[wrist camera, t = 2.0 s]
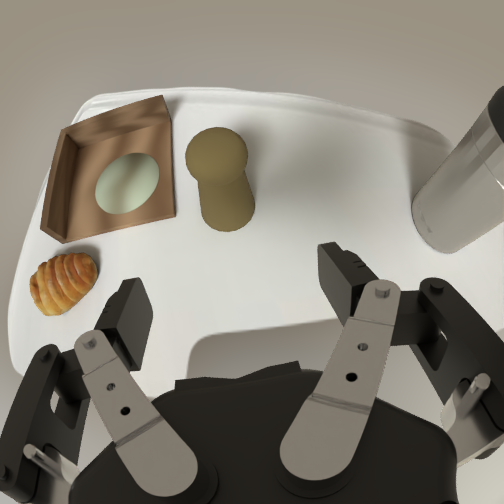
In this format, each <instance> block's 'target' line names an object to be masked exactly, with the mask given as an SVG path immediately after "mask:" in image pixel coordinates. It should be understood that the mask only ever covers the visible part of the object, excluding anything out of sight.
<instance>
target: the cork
mask: <svg viewBox="0 0 504 504" xmlns="http://www.w3.org/2000/svg"><path fill="white" fill-rule="evenodd" d="M185 158H186V166H187V168H188V170H189V172H190V174H191V175H192V176H193V177H194V178H195V179H196V180H197V181H198V189H199V197H200V205H201V213H202V217H203V219H204V221H205V223H207V224H208V225H209V226H210V227H211V228H213V229H215V230H218V231H223V232H230V231H235V230H238V229H240V228H242V227H244V226H245V225H246V224H247V223H248V222H249V221H250V220H251V218H252V216H253V214H254V210H255V203H254V199H253V195H252V192H251V189H250V186H249V183H248V180H247V177H246V174H245V171H244V169H245V167H246V164H247V159H248V151H247V147H246V144H245V142H244V141H243V139H242V138H241V137H240V135H238V134H237V133H235V132H234V131H232V130H230V129H227V128H223V127H214V128H209V129H206V130H204V131H201V132H200V133H198V134H197V135H196V136H194V137H193V139H192V140H191V141H190V143H189V144H188V146H187V150H186V153H185Z"/></svg>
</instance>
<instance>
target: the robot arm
mask: <svg viewBox="0 0 504 504" xmlns="http://www.w3.org/2000/svg"><path fill="white" fill-rule="evenodd" d="M412 214H413V219H414V223H415V225H416V228H417V230H418V232H419V233H420V235H421V236H422V238H423V239H424V240H425V241H426V243H427V244H428V245H430V246H431V247H432V248H433V249H435V250H437V251H439V252H442V253H454V252H457V251H458V250H460V249H461V248H463V247H465V246H466V245H468V244H470V243H471V242H473V241H475V240H476V239H478V238H479V237H481V236H482V235H484V234H485V233H487V232H489V231H490V230H492V229H493V228H494V227H496V226H497V225H499V224H500V223H502V222H503V221H504V86H502V87H501V88H499V89H498V90H497V91H496V93H495V94H494V96H493V97H492V99H491V100H490V101H489V103H488V105H487V106H486V108H485V109H484V110H483V112H482V113H481V115H480V116H479V117H478V119H477V120H476V122H475V123H474V124H473V126H472V127H471V129H470V130H469V131H468V132H467V134H466V135H465V136H464V137H463V139H462V140H461V141H460V143H459V144H458V145H457V146H456V148H455V149H454V150H453V151H452V153H451V154H450V155H449V156H448V158H447V159H446V160H445V161H444V162H443V164H442V165H441V166H440V167H439V168H438V170H437V171H436V172H435V173H434V174H433V176H432V177H431V178H430V179H429V180H428V181H427V183H426V184H425V185H424V186H423V187H422V188H421V189H420V191H419V192H418V193H417V194H416V196H415V197H414V200H413V203H412ZM317 251H318V275H319V282H320V285H321V288H322V290H323V292H324V293H325V295H326V297H327V299H328V300H329V302H330V304H331V306H332V307H333V309H334V311H335V313H336V314H337V316H338V318H339V320H340V322H341V323H342V325H343V327H344V329H343V331H342V334H341V336H340V338H339V340H338V342H337V345H336V347H335V349H334V351H333V353H332V356H331V358H330V360H329V362H328V364H327V366H326V368H325V370H324V372H323V371H318V370H311V369H301V368H300V365H299V362H298V361H294V362H289V363H285V364H280V365H275V366H270V367H266V368H264V369H261V370H259V371H256V372H253V373H251V374H248V375H246V376H243V377H240V378H237V379H227V378H211V377H201V378H192V379H182V380H175V389H174V390H171V391H168V392H166V393H164V394H162V395H160V396H159V397H157V398H155V399H154V400H153V401H152V402H150V401H149V399H148V398H147V397H146V395H145V394H144V393H143V391H142V390H141V389H140V387H139V386H138V385H137V383H136V382H135V380H134V379H133V378H132V376H131V375H130V371H140V370H141V365H142V361H143V356H144V352H145V348H146V344H147V339H148V335H149V331H150V327H151V324H152V320H153V310H152V306H151V303H150V301H149V298H148V296H147V293H146V291H145V288H144V285H143V283H142V281H141V279H140V278H139V277H137V278H132V279H126V280H123V282H122V284H121V286H120V288H119V290H118V292H115V293H114V294H113V295H112V296H111V297H110V298H109V299H108V301H107V303H106V305H105V308H104V309H103V311H102V313H101V315H100V317H99V319H98V321H97V323H96V325H95V328H94V330H91V331H88V332H86V333H84V334H82V335H81V336H80V337H79V338H78V339H77V340H76V342H75V345H74V349H71V350H68V351H65V352H62V353H61V352H60V350H59V349H58V347H57V346H56V345H54V344H49V345H46V346H43V347H42V348H40V349H39V350H38V351H37V352H36V353H35V355H34V357H33V359H32V361H31V363H30V365H29V367H28V369H27V371H26V373H25V376H24V378H23V380H22V382H21V385H20V387H19V389H18V392H17V394H16V397H15V399H14V401H13V404H12V406H11V409H10V412H9V415H8V417H7V420H6V422H5V425H4V428H3V431H2V434H1V438H0V491H2V492H3V493H4V494H6V495H8V496H10V497H11V498H13V499H14V500H15V501H16V502H18V503H19V504H459V502H458V498H457V492H456V470H457V468H458V467H460V466H462V465H464V464H465V463H467V462H469V461H470V460H472V459H474V458H475V459H484V458H487V457H489V456H490V455H491V454H492V453H493V452H494V451H495V450H497V449H498V448H499V447H500V446H501V445H502V444H503V443H504V342H503V341H502V340H501V339H500V337H499V336H498V335H497V334H496V333H495V332H494V330H493V329H492V328H491V327H490V326H489V325H488V324H487V322H486V321H485V320H484V319H483V318H482V317H481V316H480V315H479V314H478V313H477V311H476V310H475V309H474V308H473V307H472V306H471V305H470V304H469V303H468V302H467V301H466V300H465V299H464V298H463V297H462V296H461V295H460V294H459V293H458V292H457V291H456V290H455V288H454V287H453V286H452V285H450V284H449V283H448V282H447V281H445V280H443V279H440V278H426V279H424V280H423V281H422V282H421V283H420V287H419V290H416V291H401V290H400V288H399V286H398V285H397V284H395V283H394V282H391V281H388V280H380V279H379V278H378V277H377V276H376V275H375V274H374V273H373V272H372V271H371V270H370V268H369V267H368V266H366V264H365V263H364V262H363V261H362V260H361V259H360V258H359V257H358V255H357V254H355V253H353V252H351V251H348V250H345V251H343V250H342V249H341V248H340V247H339V246H338V245H337V243H336V242H330V243H324V244H319V245H318V249H317ZM441 331H442V332H443V333H444V334H445V336H446V338H447V340H446V339H445V337H444V336H443V335H442V334H441ZM397 345H409V346H410V348H411V349H412V351H413V353H414V354H415V356H416V357H417V359H418V361H419V362H420V364H421V366H422V367H423V369H424V371H425V373H426V374H427V376H428V378H429V380H430V381H431V383H432V385H433V387H434V388H435V390H436V392H437V394H438V396H439V397H440V399H441V401H442V403H443V405H444V407H443V409H442V412H441V422H442V425H443V429H442V428H440V427H439V426H437V425H435V424H433V423H431V422H429V421H426V420H424V419H422V418H420V417H417V416H415V415H413V414H411V413H409V412H407V411H404V410H402V409H400V408H398V407H396V406H394V405H392V404H390V403H388V402H385V401H383V400H381V399H379V398H377V397H376V395H377V392H378V388H379V385H380V382H381V378H382V375H383V371H384V368H385V364H386V360H387V356H388V352H389V348H390V346H397ZM53 391H55V392H56V393H57V394H58V396H59V400H58V404H57V407H56V410H55V413H53V411H52V409H51V406H50V400H51V397H52V394H53ZM90 398H92V401H93V403H94V405H95V407H96V409H97V411H98V413H99V415H100V417H101V419H102V421H103V423H104V424H105V426H106V428H107V430H108V432H109V434H110V435H111V437H112V439H113V441H112V442H111V443H110V444H109V445H108V446H107V447H106V448H105V449H104V450H103V451H102V452H101V453H100V454H99V455H98V456H97V457H96V458H95V459H94V460H93V461H92V462H91V463H90V464H89V465H88V466H87V467H86V468H85V469H84V470H83V471H82V472H81V473H80V472H79V469H78V468H77V463H78V457H79V451H80V446H81V440H82V434H83V430H84V425H85V420H86V416H87V411H88V407H89V402H90Z"/></svg>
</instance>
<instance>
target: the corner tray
mask: <svg viewBox="0 0 504 504" xmlns="http://www.w3.org/2000/svg"><path fill="white" fill-rule="evenodd" d="M173 217H175V205H174V189H173V169H172V140H171V118H170V115H169V112H168V109H167V106H166V103H165V101H164V98H163V95H159V96H155V97H152V98H148V99H144V100H141V101H138V102H134V103H131V104H128V105H125V106H122V107H119V108H116V109H113V110H110V111H107V112H104V113H101V114H99V115H96V116H93V117H91V118H88V119H86V120H83V121H81V122H78V123H76V124H73V125H71V126H69V127H66V128H64V129H62V130H61V132H60V136H59V139H58V142H57V146H56V150H55V154H54V157H53V161H52V165H51V169H50V174H49V178H48V183H47V188H46V193H45V199H44V205H43V211H42V218H41V225H40V229H41V230H42V231H44V232H45V233H47V234H48V235H50V236H51V237H53V238H54V239H56V240H57V241H59V242H60V243H62V244H64V243H68V242H72V241H75V240H79V239H83V238H87V237H91V236H95V235H99V234H103V233H107V232H111V231H115V230H119V229H124V228H128V227H132V226H137V225H141V224H145V223H150V222H154V221H159V220H164V219H168V218H173Z"/></svg>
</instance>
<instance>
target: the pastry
mask: <svg viewBox="0 0 504 504" xmlns="http://www.w3.org/2000/svg"><path fill="white" fill-rule="evenodd" d="M97 275H98V273H97V268H96V265H95V263H94V262H93V260H92V258H91V257H90V256H89V255H87V254H85V253H78V254H75V253H70V254H69V255H66V254H64V255H60V256H55V257H53V258H52V259H49V260H48V262H43V263H42V264H41V265H39V267H38V271H37V272H36V273H35V274H34V275H32V276H31V279H30V292H31V296H32V298H33V299H34V303H35V304H36V306H37V307H38V309H39V310H40V311H41V312H42V313H43V314H44V315H46V316H53V315H61V314H63V313H65V312H67V311H69V310H70V309H71V308H72V307H73V306H74V305H75V304H77V303H78V302H79V301H80V300H81V299H82V298H83V297H84V296H85V295H86V294H87V293H88V292H89V291H90V290H91V289H92V287H93V285H94V283H95V282H96V280H97Z"/></svg>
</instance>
